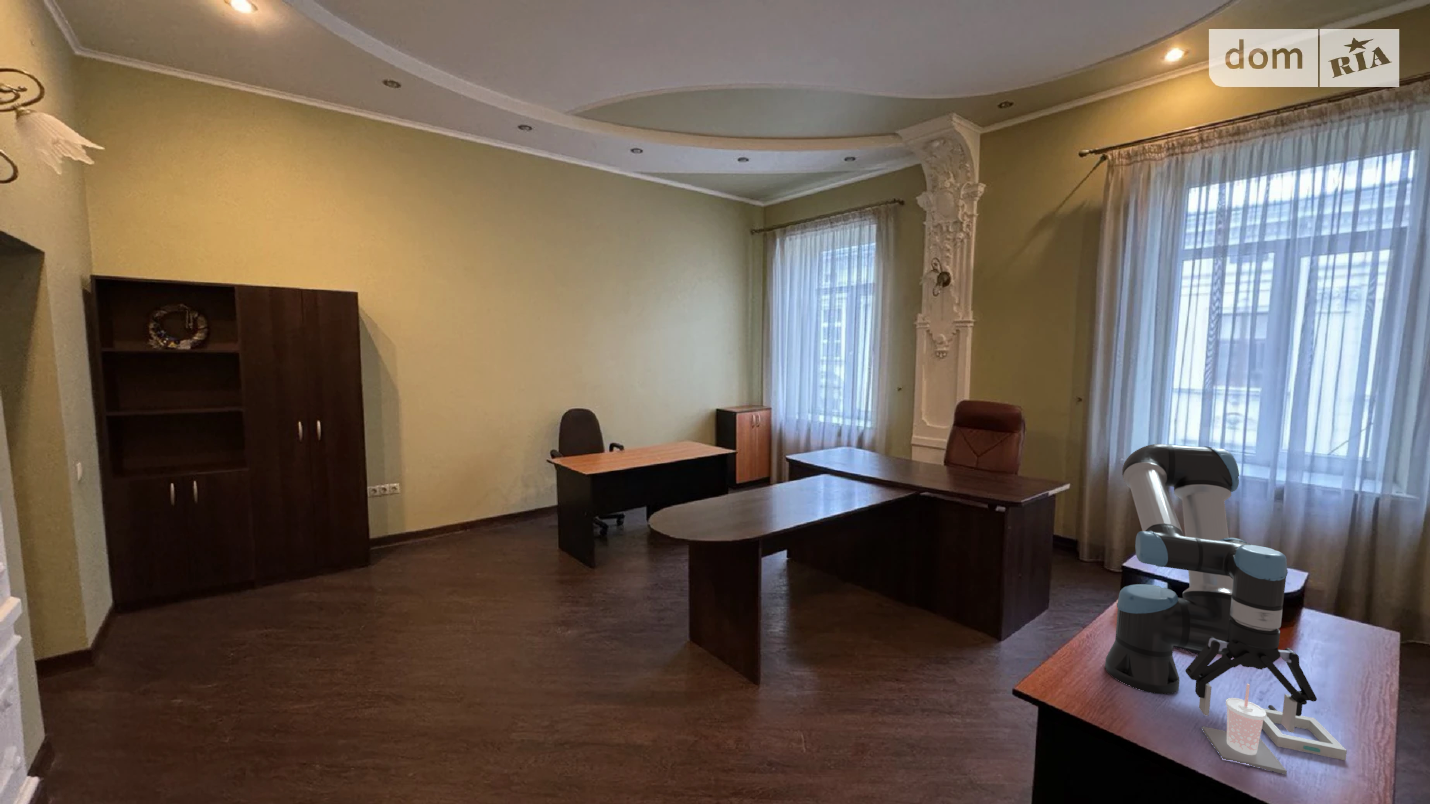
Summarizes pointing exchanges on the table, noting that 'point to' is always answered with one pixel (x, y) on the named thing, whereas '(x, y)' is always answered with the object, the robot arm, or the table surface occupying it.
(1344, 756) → the beige flat rectangular frame
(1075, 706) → the table surface
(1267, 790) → the table surface
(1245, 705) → the beverage cup
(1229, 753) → the coaster pad
